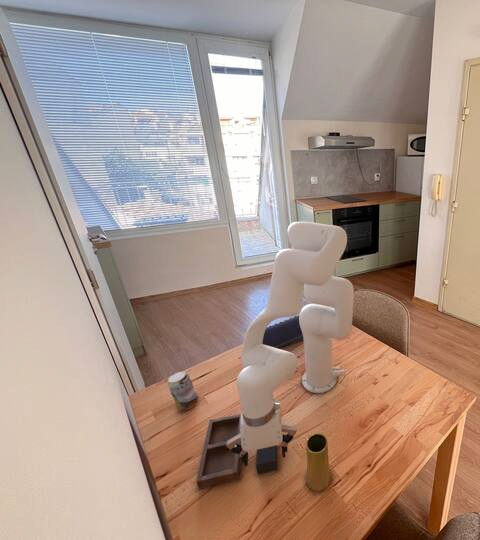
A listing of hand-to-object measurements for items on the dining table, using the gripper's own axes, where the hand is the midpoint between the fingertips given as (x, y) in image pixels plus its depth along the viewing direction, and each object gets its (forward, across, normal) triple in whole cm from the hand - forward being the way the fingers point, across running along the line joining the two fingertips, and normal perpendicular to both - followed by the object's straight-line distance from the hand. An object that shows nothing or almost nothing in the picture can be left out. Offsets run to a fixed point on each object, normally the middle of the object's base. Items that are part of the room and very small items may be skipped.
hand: (265, 456), depth 79 cm
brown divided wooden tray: (+3, +12, -6) cm, 14 cm away
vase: (+3, -13, +8) cm, 16 cm away
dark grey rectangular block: (+3, 0, 0) cm, 3 cm away
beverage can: (+3, +26, -26) cm, 37 cm away
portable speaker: (+2, -8, -52) cm, 53 cm away
